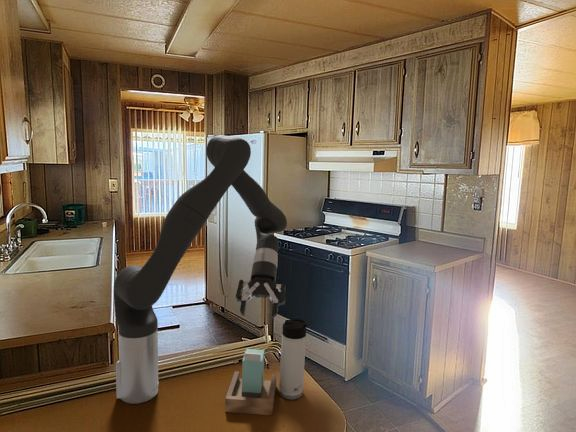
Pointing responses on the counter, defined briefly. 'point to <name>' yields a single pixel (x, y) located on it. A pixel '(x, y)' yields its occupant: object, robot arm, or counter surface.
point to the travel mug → (292, 358)
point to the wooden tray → (250, 398)
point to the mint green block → (252, 373)
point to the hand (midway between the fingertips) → (258, 316)
